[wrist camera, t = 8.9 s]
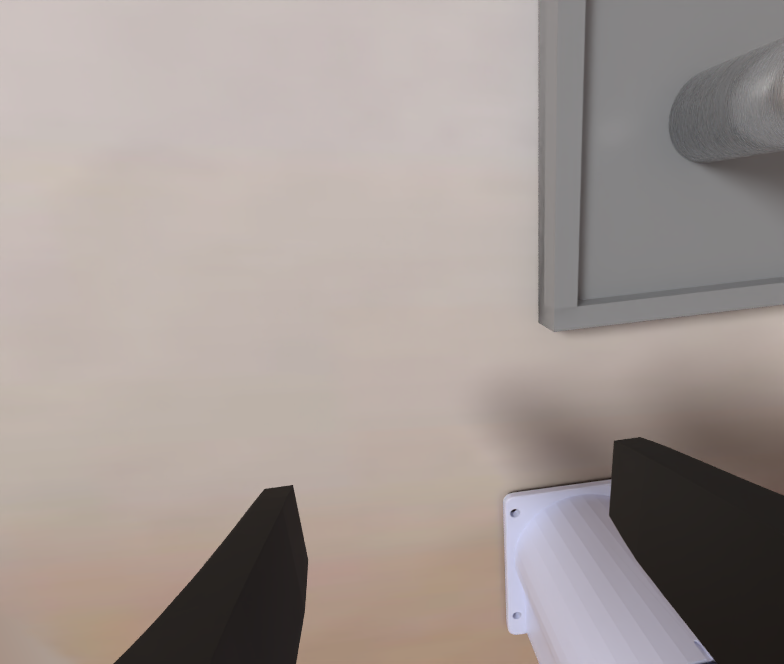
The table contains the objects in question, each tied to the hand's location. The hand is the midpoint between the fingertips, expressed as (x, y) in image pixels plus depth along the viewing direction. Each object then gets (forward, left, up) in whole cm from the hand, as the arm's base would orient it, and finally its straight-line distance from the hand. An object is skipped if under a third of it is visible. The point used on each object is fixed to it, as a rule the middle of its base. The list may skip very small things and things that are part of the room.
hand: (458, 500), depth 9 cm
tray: (+9, -13, -10) cm, 19 cm away
